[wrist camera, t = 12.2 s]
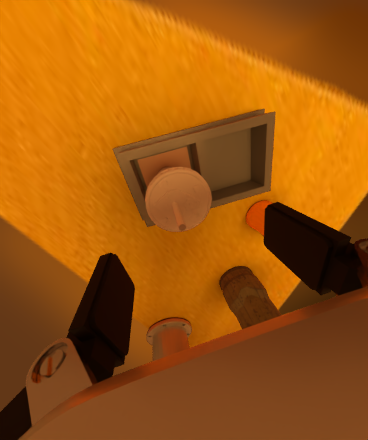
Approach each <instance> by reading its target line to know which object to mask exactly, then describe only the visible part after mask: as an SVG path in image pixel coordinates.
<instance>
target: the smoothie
mask: <svg viewBox="0 0 368 440" xmlns="http://www.w3.org/2000/svg"><path fill="white" fill-rule="evenodd" d="M211 201H212V196H211V191H210V188H209V185H208V184H207V182H206V181H205V180H204V178H203V177H202V176H201V175H200V174H199V173H198V172H196V171H194V170H192V169H190V168H185V167H171V166H167V167H164V168H162V169H161V170H160V171H159V172H158V174H157V175H156V176H155V177H154V178H153V180H152V181H151V182H150V184H149V186H148V188H147V191H146V197H145V202H146V209H147V213H148V215H149V217H150V218H151V220H152V221H153V222H154V223H155V224H156V225H157V226H159V227H160V228H162V229H164V230H167V231H172V232H182V231H186V230H189V229H192V228H194V227H195V226H197V225H198V224H200V223H201V222H202V221H203V220H204V218H205V217H206V216H207V214H208V212H209V210H210V207H211Z"/></svg>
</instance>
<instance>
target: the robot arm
mask: <svg viewBox="0 0 368 440" xmlns="http://www.w3.org/2000/svg"><path fill="white" fill-rule="evenodd" d="M350 239H351V237H349V236H347V235H345V234H343V233H341V232H339V231H337V230H335V229H333V228H331V227H329V226H327V225H325V224H323V223H321V222H318V221H316V220H314V219H312V218H310V217H308V216H306V215H304V214H302V213H300V212H298V211H296V210H294V209H292V208H290V207H288V206H286V205H284V204H282V203H279V202H276V203H272V204H269V205H267V208H265V217H264V245H265V247H266V248H267V249H268V250H270V251H271V252H272V253H273V254H274V255H275V256H276V257H277V258H278V259H279V260H280V261H281V262H282V263H284V264H285V265H286V266H287V267H288V268H289V269H290V270H291V271H292V272H293V273H294V274H295V275H296V276H298V277H299V278H300V279H301V280H302V281H303V282H304V283H305V284H306V285H307V286H308V287H309V288H311V289H312V290H316V291H317V292H318V293H319V294H320V295H323V294H326V293H329V292H331V290H332V291H334V292H335V293H336V297H333V298H331V299H327V300H325V301H322V302H319V303H316V304H313V305H310V306H307V307H304V308H301V309H299V310H296V311H293V312H290V313H287V314H285V315H281V316H278V317H276V318H273V319H270V320H267V321H264V322H261V323H259V324H256V325H253V326H250V327H247V328H244V329H242V330H239V331H236V332H233V333H230V334H227V335H225V336H222V337H219V338H216V339H213V340H210V341H208V342H205V343H202V344H199V345H197V346H194V347H191V348H189V343H188V337H189V335H190V334H191V331H192V329H191V325H190V323H189V322H188V321H186V320H184V319H180V318H171V319H166V320H163V321H160V322H158V323H156V324H154V325H153V326H152V327H151V328H150V329H149V330H148V332H147V342H148V343H149V344H151V345H153V361H152V362H149V363H147V364H144V365H141V366H139V367H136V368H134V369H131V370H128V371H126V372H123V373H120V374H118V375H115V376H112V375H113V371H114V368H115V367H118V366H121V365H123V364H124V360H125V355H127V354H128V350H129V341H130V331H131V330H130V329H131V320H132V312H133V302H134V292H135V287H134V284H133V282H132V280H131V278H130V277H129V275H128V273H127V272H126V270H125V268H124V267H123V265H122V263H121V261H120V260H119V258H118V256H117V255H116V254H114V255H113V253H108V254H105V255H102V256H100V258H99V260H98V263H97V265H96V267H95V270H94V272H93V274H92V277H91V279H90V281H89V284H88V286H87V288H86V291H85V293H84V295H83V298H82V300H81V302H80V305H79V307H78V309H77V312H76V314H75V317H74V319H73V321H72V323H71V326H70V328H69V333H68V335H67V337H66V338H62V339H58V340H57V341H55V342H53V343H51V344H50V345H49V346H48V347H46V348H45V349H44V350H43V351H42V352H41V353H40V354H39V356H38V357H37V358H36V360H35V361H34V363H33V364H32V366H31V367H30V369H29V372H28V374H27V377H26V387H25V388H24V389H23V390H22V391H21V392H20V393H19V394H18V395H17V396H16V397H15V398H14V399H13V400H12V401H11V402H10V403H9V404H8V405H7V406H6V407H5V408H4V409H3V410H2V411H1V412H0V440H368V238H367V239H366V238H365V239H359V240H357V241H355V243H354V244H352V243H350Z"/></svg>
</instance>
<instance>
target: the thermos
mask: <svg viewBox="0 0 368 440" xmlns="http://www.w3.org/2000/svg"><path fill="white" fill-rule="evenodd" d="M219 285H220V287H221V289H222V290H223V295H224V297H225V299H226V301H227V304H228V306H229V308H230V309H231V311H232V312H233V313H234V314H235V316H236V317H237V319H238V321H239V323H240V325H241V327H242V329H244V328H247V327H250V326H253V325H256V324H259V323H261V322H264V321H267V320H270V319H273V318H276V317H278V316H281V314H280V312H279V311H278V310H277V308H276V307H275V305H274V304H273V303H272V301H271V300H270V299H269V297H268V294H267V291H266V289H265V288H264V286H263V285H262V284H261V282H260V281H259V280H258V278H257V277H256V276H254V275H253V273H252V271H251V270H250V269H249V268H247V267H245V266H239V267H234V268H232V269H230V270H228V271H227V272H225V273H224V274H223V276H222V277H221V279H220V282H219Z"/></svg>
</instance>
